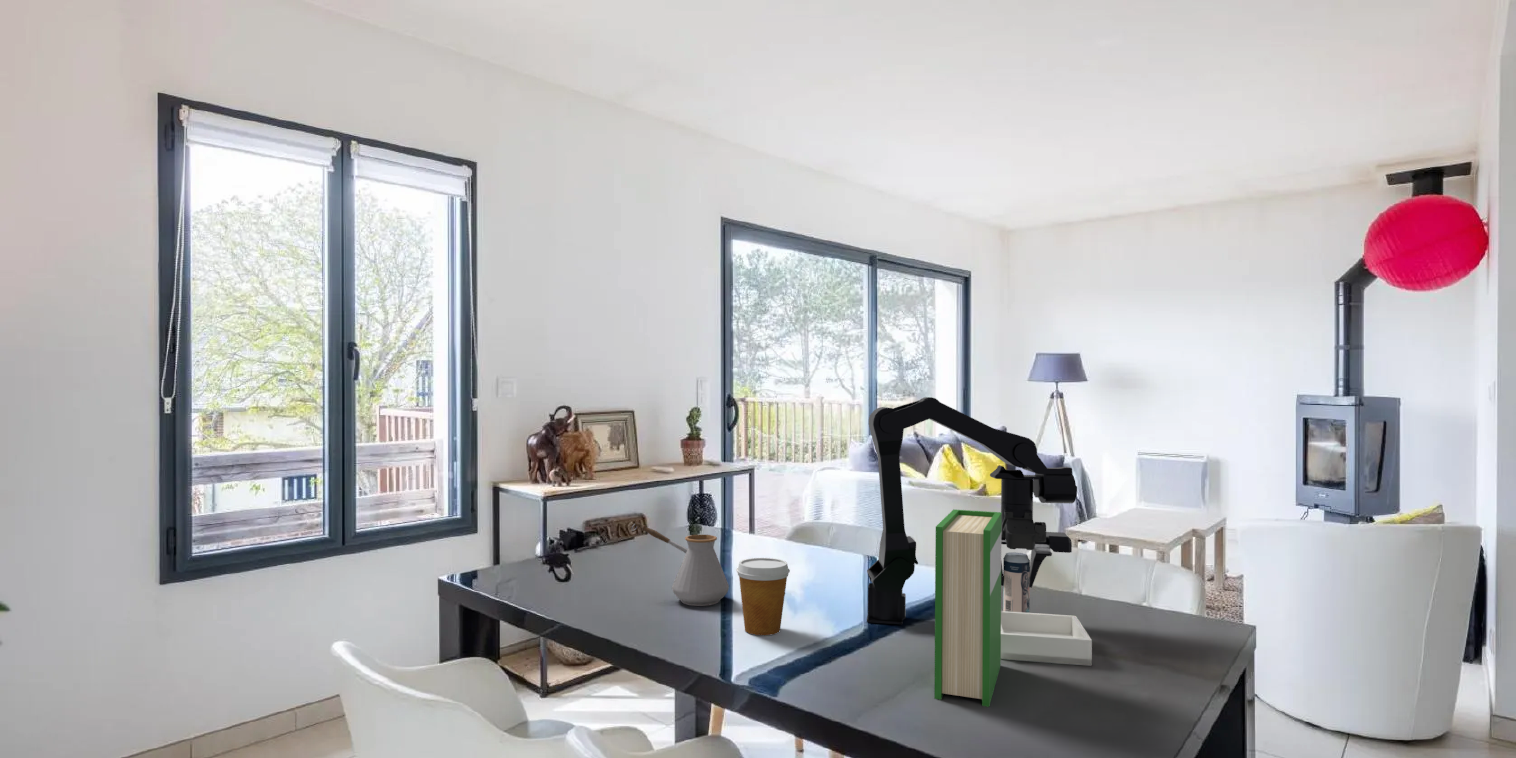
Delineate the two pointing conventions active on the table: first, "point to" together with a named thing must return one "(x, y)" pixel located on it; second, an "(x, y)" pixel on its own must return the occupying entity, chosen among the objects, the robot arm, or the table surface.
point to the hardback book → (968, 604)
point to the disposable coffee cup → (762, 593)
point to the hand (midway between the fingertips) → (1016, 586)
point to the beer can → (1016, 582)
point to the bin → (1044, 638)
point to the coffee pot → (696, 570)
